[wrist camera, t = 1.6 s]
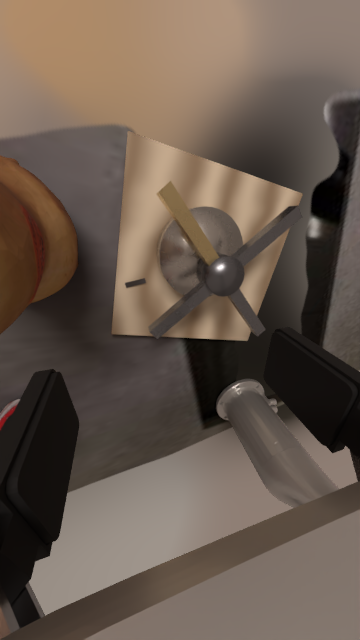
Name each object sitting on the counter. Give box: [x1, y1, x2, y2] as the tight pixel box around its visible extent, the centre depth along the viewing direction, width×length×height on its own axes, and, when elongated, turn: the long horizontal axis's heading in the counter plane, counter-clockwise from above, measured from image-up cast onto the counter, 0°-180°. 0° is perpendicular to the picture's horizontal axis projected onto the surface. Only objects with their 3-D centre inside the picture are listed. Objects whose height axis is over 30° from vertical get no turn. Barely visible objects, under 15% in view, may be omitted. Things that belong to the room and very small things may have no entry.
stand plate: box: [111, 131, 303, 341], centre depth 33 cm, size 26×26×2 cm
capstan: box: [148, 181, 302, 339], centre depth 29 cm, size 24×24×7 cm
